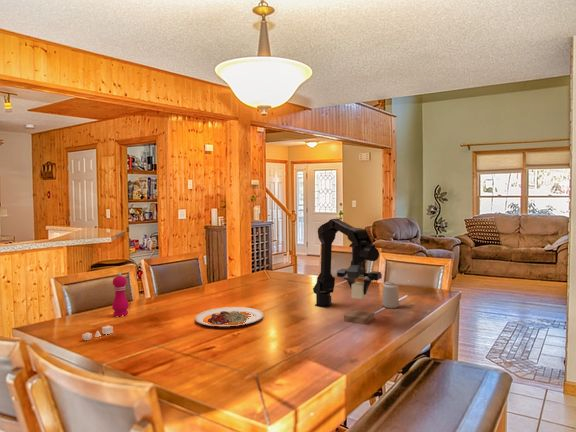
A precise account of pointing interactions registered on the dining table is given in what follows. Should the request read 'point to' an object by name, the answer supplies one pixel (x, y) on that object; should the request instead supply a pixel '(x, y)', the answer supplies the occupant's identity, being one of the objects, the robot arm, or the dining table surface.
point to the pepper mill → (120, 296)
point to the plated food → (229, 316)
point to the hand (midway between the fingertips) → (359, 293)
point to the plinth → (359, 317)
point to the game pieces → (105, 330)
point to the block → (358, 290)
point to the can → (390, 295)
